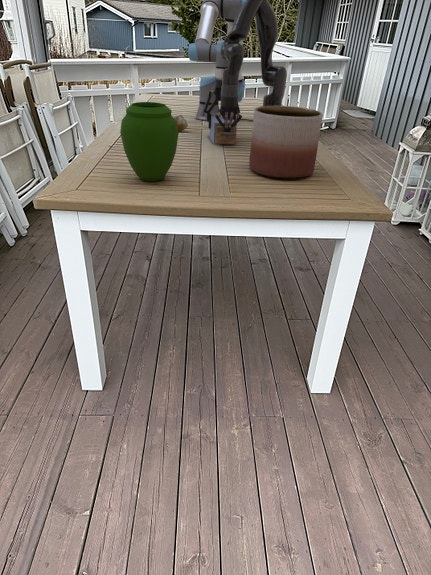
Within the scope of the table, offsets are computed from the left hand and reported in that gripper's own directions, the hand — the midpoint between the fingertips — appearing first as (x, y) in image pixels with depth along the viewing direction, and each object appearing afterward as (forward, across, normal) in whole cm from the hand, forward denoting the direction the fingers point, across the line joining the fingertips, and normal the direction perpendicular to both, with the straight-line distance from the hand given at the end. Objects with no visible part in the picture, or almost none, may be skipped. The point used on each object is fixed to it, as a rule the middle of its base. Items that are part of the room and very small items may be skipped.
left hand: (220, 128), depth 204 cm
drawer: (+4, 0, -11) cm, 11 cm away
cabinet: (+5, 0, -4) cm, 7 cm away
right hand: (0, 0, -18) cm, 18 cm away
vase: (+5, -36, -66) cm, 75 cm away
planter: (+5, +15, -57) cm, 59 cm away
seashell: (+5, -20, +15) cm, 25 cm away
